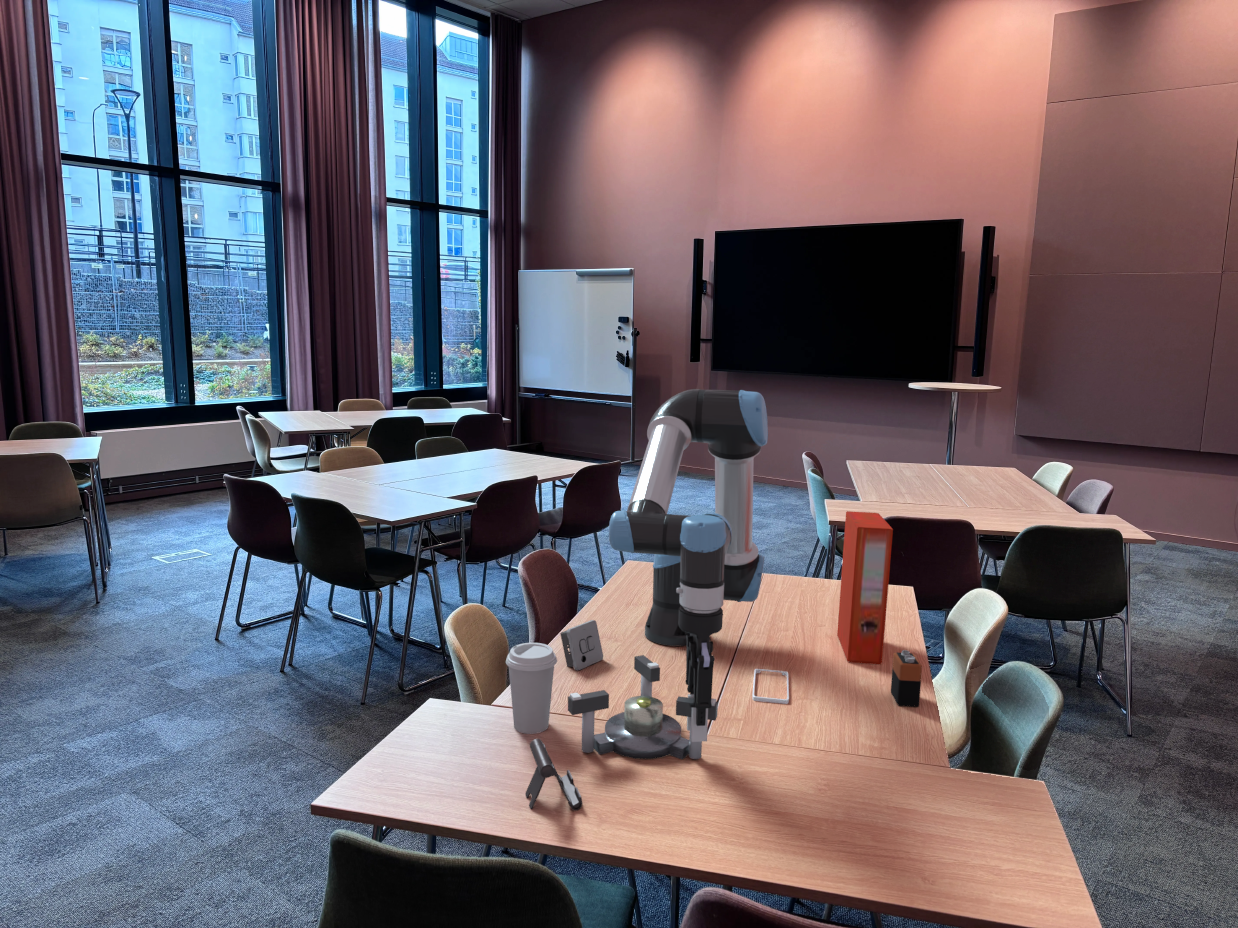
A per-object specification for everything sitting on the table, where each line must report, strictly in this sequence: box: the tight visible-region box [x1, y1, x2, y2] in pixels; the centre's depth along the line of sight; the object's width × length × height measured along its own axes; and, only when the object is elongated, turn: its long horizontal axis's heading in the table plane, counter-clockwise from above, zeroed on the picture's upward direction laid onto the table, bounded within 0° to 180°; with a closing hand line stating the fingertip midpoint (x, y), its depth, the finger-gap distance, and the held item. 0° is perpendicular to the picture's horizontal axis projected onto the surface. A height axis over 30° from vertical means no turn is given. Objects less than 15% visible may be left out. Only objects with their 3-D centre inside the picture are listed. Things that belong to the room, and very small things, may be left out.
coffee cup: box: [505, 642, 558, 735], centre depth 156 cm, size 10×10×15 cm
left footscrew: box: [675, 695, 719, 760], centre depth 145 cm, size 7×2×11 cm, turn 74°
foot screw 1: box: [567, 689, 610, 754], centre depth 147 cm, size 7×2×11 cm, turn 115°
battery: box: [890, 649, 923, 708], centre depth 171 cm, size 4×7×10 cm, turn 175°
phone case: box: [751, 668, 790, 705], centre depth 176 cm, size 7×1×15 cm
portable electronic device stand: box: [525, 738, 583, 812], centre depth 132 cm, size 9×8×8 cm
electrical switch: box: [559, 619, 604, 671], centre depth 187 cm, size 9×5×9 cm, turn 141°
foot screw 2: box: [633, 654, 661, 697], centre depth 162 cm, size 7×2×11 cm, turn 25°
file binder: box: [836, 510, 894, 666], centre depth 196 cm, size 8×17×32 cm, turn 173°
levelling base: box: [594, 695, 689, 760], centre depth 151 cm, size 18×16×8 cm
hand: (696, 734), depth 145 cm, fingers open, 3 cm apart
